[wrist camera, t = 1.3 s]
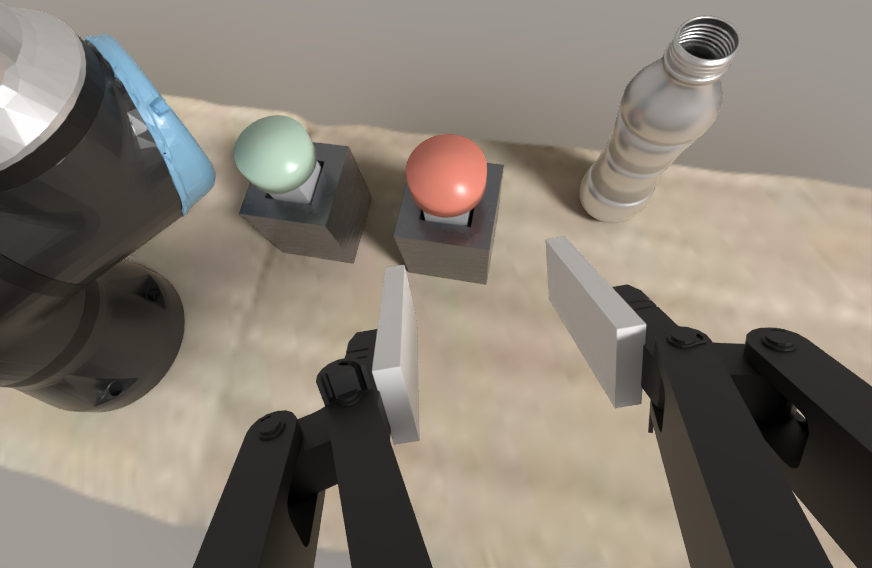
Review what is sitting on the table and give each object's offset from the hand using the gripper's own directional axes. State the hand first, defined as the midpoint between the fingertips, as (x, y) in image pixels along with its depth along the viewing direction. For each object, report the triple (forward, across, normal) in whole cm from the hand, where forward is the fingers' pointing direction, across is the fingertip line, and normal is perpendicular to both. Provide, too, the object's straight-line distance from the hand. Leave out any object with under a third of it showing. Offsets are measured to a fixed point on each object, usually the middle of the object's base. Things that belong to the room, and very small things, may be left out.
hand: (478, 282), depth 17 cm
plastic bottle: (+27, +16, -8) cm, 33 cm away
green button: (+27, -13, -2) cm, 30 cm away
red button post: (+26, 0, -8) cm, 27 cm away
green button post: (+29, -13, -5) cm, 33 cm away
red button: (+23, 0, -6) cm, 24 cm away
